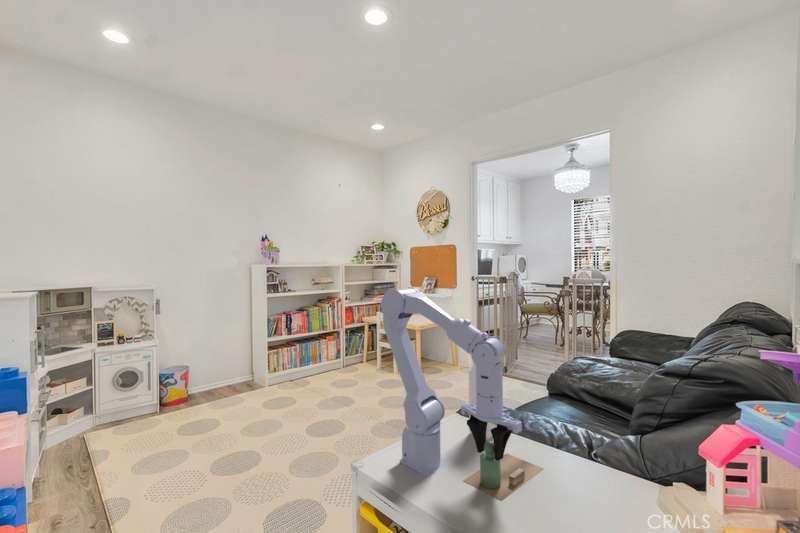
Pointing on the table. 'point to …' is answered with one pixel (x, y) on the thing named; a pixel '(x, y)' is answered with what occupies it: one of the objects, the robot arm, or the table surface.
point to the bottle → (490, 468)
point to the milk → (473, 398)
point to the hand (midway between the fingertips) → (490, 454)
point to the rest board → (507, 476)
